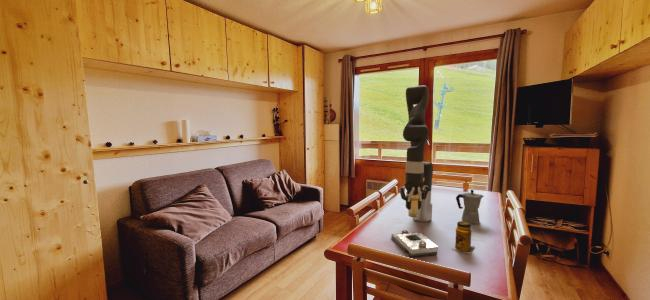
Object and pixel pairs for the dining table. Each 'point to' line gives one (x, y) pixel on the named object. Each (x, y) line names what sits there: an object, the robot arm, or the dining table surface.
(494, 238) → the dining table surface
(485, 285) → the dining table surface
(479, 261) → the dining table surface
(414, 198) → the brass pin
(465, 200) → the coffeepot
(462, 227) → the yellow jar
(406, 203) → the robot arm
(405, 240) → the slotted plate with knobs
